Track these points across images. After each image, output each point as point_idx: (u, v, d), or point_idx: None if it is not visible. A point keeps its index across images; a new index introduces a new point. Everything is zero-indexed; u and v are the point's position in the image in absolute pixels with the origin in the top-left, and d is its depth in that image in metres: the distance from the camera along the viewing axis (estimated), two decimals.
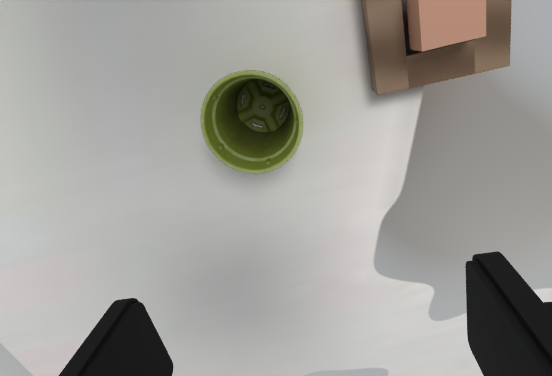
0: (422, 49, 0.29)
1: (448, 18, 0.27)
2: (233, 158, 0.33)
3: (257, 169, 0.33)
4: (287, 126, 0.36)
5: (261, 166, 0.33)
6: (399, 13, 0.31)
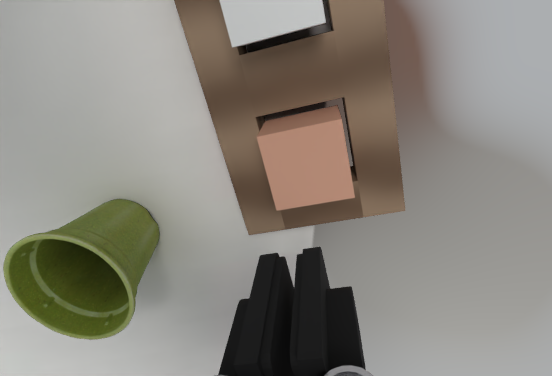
0: (277, 208, 0.22)
1: (302, 175, 0.21)
2: (64, 317, 0.26)
3: (90, 335, 0.26)
4: (146, 263, 0.29)
5: (97, 329, 0.26)
6: None
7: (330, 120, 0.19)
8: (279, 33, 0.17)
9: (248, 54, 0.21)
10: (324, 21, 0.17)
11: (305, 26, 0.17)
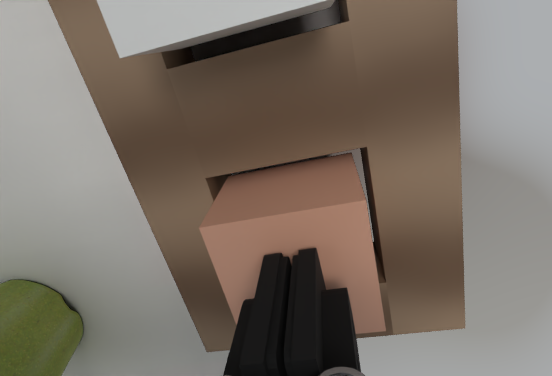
0: None
1: None
2: None
3: None
4: None
5: None
6: None
7: (342, 200, 0.10)
8: (225, 25, 0.07)
9: (184, 67, 0.11)
10: None
11: (287, 7, 0.07)
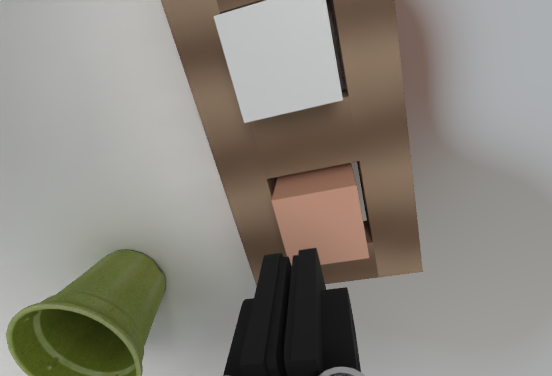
0: None
1: (317, 236, 0.21)
2: None
3: None
4: (153, 317, 0.28)
5: None
6: (271, 209, 0.23)
7: (345, 185, 0.19)
8: (293, 110, 0.17)
9: None
10: (341, 99, 0.16)
11: (321, 103, 0.16)
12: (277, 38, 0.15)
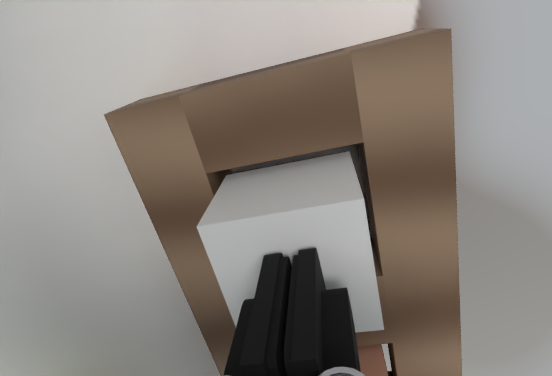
0: None
1: None
2: None
3: None
4: None
5: None
6: None
7: None
8: None
9: None
10: (382, 328, 0.11)
11: None
12: (292, 257, 0.10)
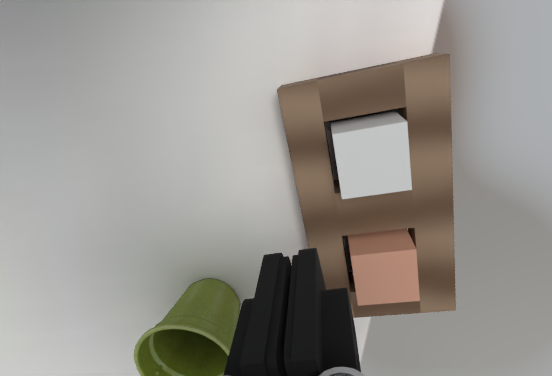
0: (358, 303, 0.29)
1: (381, 283, 0.28)
2: None
3: None
4: None
5: None
6: (342, 257, 0.30)
7: (407, 248, 0.26)
8: (377, 193, 0.25)
9: None
10: (411, 189, 0.24)
11: (397, 191, 0.25)
12: (373, 150, 0.24)
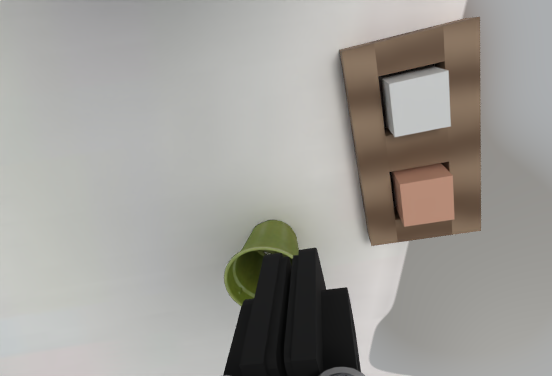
0: (404, 225, 0.36)
1: (424, 206, 0.35)
2: None
3: None
4: None
5: None
6: (389, 190, 0.37)
7: (445, 175, 0.33)
8: (423, 130, 0.32)
9: (391, 135, 0.35)
10: (450, 125, 0.31)
11: (438, 127, 0.31)
12: (421, 95, 0.30)
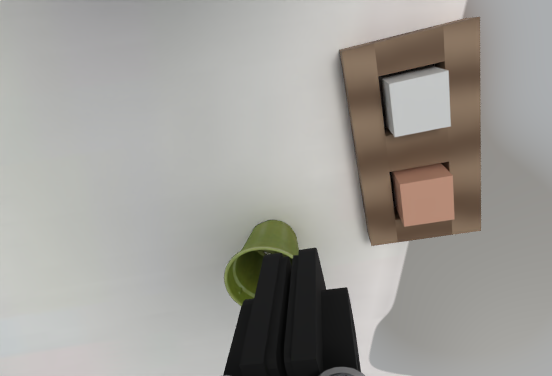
0: (404, 225, 0.36)
1: (424, 206, 0.35)
2: None
3: None
4: None
5: None
6: (389, 190, 0.37)
7: (445, 175, 0.33)
8: (423, 130, 0.32)
9: (391, 135, 0.35)
10: (450, 125, 0.31)
11: (438, 127, 0.31)
12: (421, 95, 0.30)
